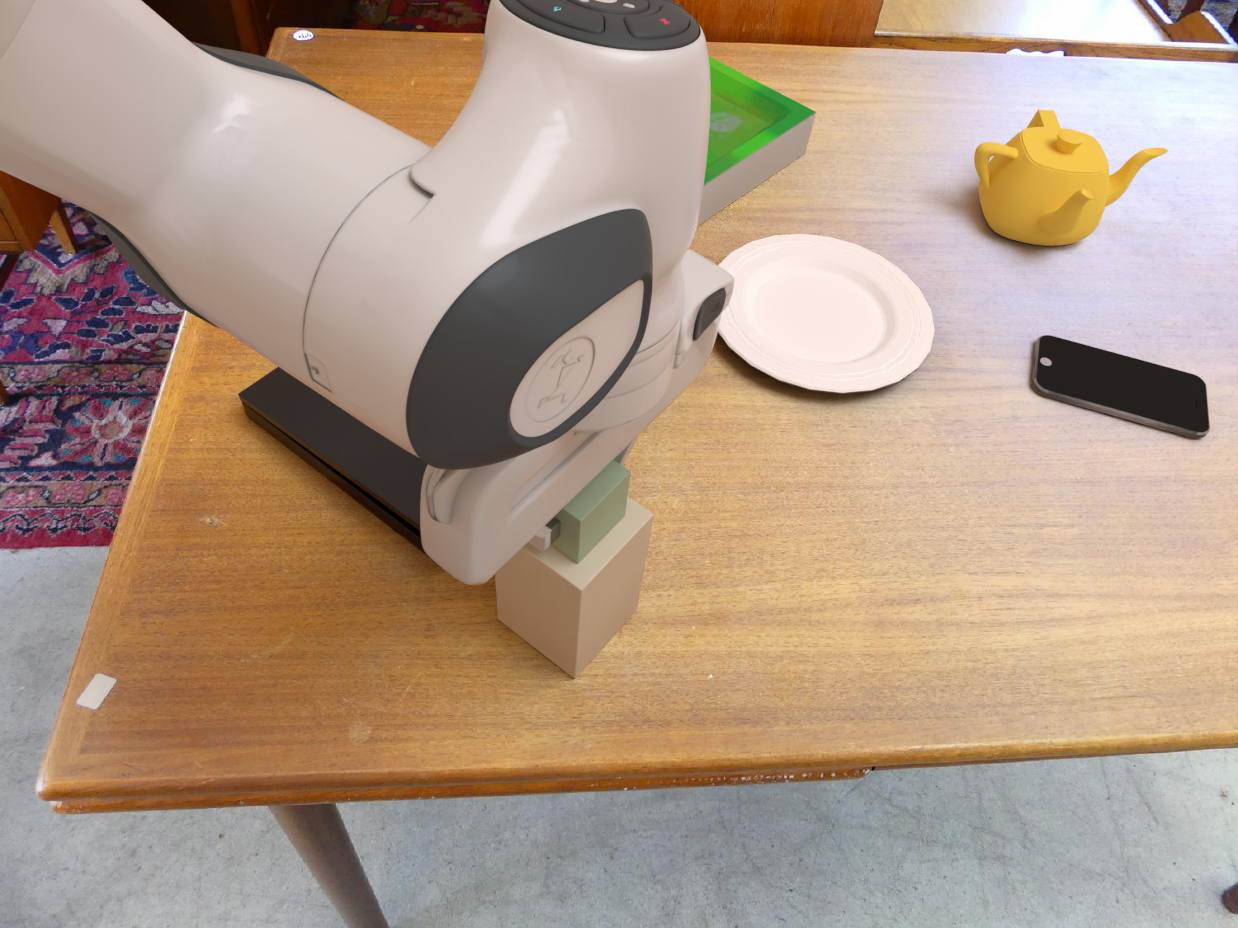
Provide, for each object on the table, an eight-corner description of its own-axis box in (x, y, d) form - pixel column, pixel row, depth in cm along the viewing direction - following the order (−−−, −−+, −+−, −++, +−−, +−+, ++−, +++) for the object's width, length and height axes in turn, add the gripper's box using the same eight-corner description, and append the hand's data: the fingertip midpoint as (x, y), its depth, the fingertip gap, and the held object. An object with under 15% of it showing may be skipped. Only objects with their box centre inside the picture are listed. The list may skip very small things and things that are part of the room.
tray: (637, 62, 110) (640, 21, 106) (805, 153, 101) (816, 112, 97) (482, 141, 98) (479, 98, 94) (657, 254, 89) (662, 211, 85)
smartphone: (1038, 330, 85) (1206, 376, 83) (1035, 336, 85) (1202, 381, 83) (1033, 387, 80) (1211, 437, 78) (1029, 393, 81) (1206, 443, 79)
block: (577, 564, 53) (580, 521, 50) (519, 522, 55) (518, 477, 51) (625, 516, 55) (631, 471, 52) (568, 476, 57) (570, 430, 53)
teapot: (1047, 279, 91) (1095, 195, 83) (940, 209, 97) (976, 124, 89) (1120, 228, 97) (1172, 145, 89) (1015, 165, 102) (1055, 82, 95)
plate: (659, 289, 86) (662, 274, 84) (827, 224, 94) (832, 209, 92) (800, 440, 76) (805, 425, 74) (975, 353, 84) (983, 338, 82)
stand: (574, 679, 62) (581, 590, 52) (497, 619, 64) (490, 523, 54) (637, 608, 65) (654, 513, 56) (562, 554, 67) (566, 454, 58)
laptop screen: (689, 323, 79) (690, 315, 78) (441, 547, 64) (440, 540, 63) (501, 224, 87) (500, 216, 87) (240, 401, 72) (237, 393, 71)
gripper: (479, 512, 37) (492, 662, 48) (754, 263, 47) (713, 433, 58) (369, 431, 39) (406, 593, 50) (656, 210, 49) (635, 384, 60)
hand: (574, 505), depth 54 cm, fingers closed on block, 4 cm apart
